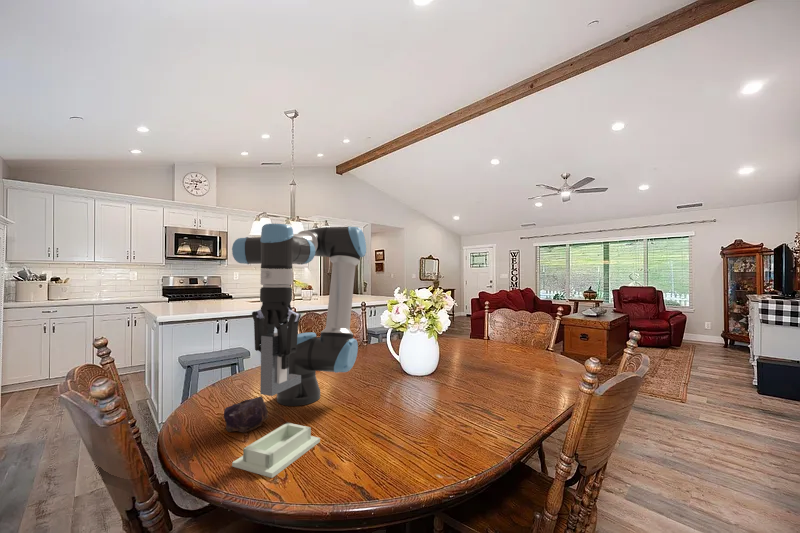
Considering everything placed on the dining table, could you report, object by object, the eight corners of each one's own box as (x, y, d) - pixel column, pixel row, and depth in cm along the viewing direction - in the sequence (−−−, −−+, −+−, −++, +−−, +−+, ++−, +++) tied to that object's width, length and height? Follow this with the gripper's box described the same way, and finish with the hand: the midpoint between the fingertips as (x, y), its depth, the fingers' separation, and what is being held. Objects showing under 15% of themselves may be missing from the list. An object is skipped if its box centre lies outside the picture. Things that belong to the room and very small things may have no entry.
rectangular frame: (232, 466, 82) (232, 449, 82) (284, 433, 99) (284, 419, 99) (272, 478, 78) (272, 459, 78) (320, 441, 94) (320, 426, 94)
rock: (226, 430, 104) (228, 444, 95) (222, 402, 103) (222, 413, 94) (268, 416, 109) (272, 428, 100) (263, 389, 109) (268, 399, 100)
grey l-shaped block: (260, 394, 84) (261, 335, 85) (290, 381, 95) (291, 329, 95) (271, 396, 83) (272, 336, 83) (301, 382, 93) (301, 330, 94)
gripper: (239, 286, 87) (237, 381, 86) (293, 287, 81) (292, 389, 80) (261, 285, 94) (260, 373, 93) (313, 286, 88) (312, 380, 87)
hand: (275, 380), depth 87 cm, fingers closed on grey l-shaped block, 3 cm apart
